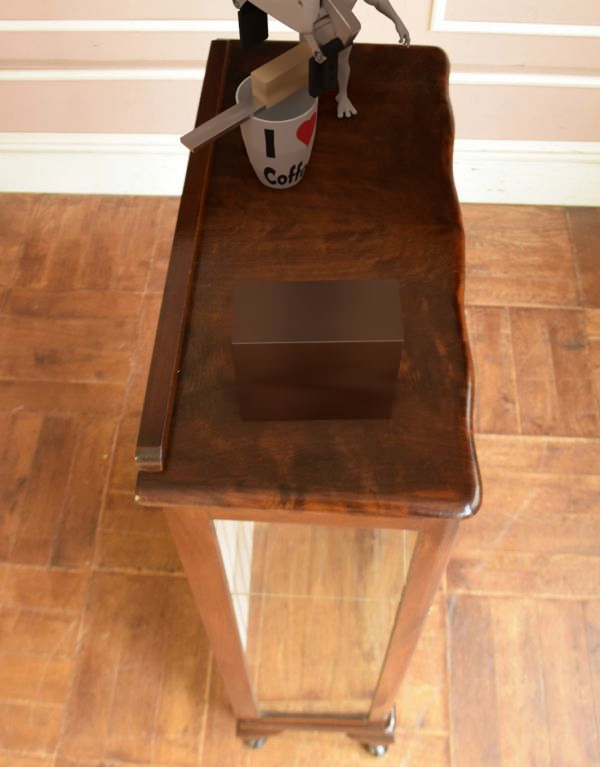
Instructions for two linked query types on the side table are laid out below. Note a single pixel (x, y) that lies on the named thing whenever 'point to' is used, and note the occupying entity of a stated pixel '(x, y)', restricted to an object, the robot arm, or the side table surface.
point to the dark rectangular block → (317, 348)
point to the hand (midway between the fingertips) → (288, 66)
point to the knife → (257, 95)
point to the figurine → (383, 6)
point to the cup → (280, 136)
